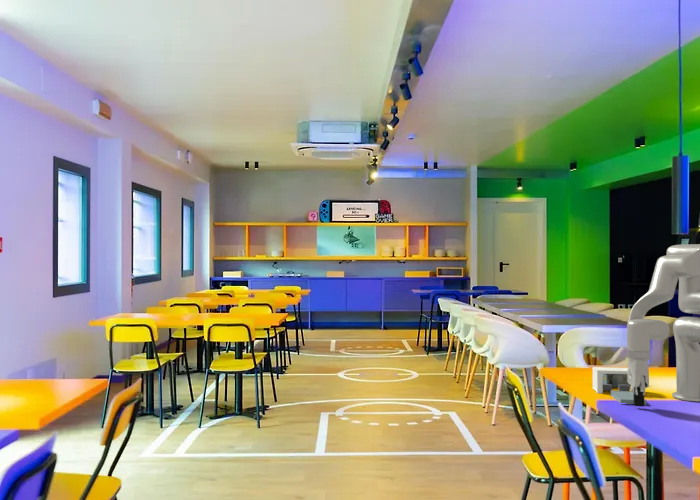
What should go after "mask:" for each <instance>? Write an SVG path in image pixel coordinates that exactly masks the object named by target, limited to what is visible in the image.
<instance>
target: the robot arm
mask: <svg viewBox="0 0 700 500" xmlns="http://www.w3.org/2000/svg"><path fill="white" fill-rule="evenodd" d="M677 284H678V309H679V310H680V311H681V312H683V313H687V314H692V315H693V314H695V315H700V243H699V244H698V243H697V244H695V243H694V244H693V243H691V244H687V243H685V244H675V245H671V246H669V247H668V248H667V249H666V255H663V256H660V257H659V258H657V260H656V263H655V266H654V271H653V273H652V277H651V281H650V284H649V287H648V288H649V289H648V291H647V292H646V293H645V294H644V295H642V296H641V297H640V298H639V299H638V300H637V301H636V302H635V303H634V305H633V306H632V308H631V310H630V312H629V316H628V320H627V324H626V357H627V368H628V372H627V382H628V383H629V384H630V385H631V386H633V393H634V405H633V406H635V407H645V405H644V399H645V393H646V389H648V388H649V386H650V372H649V361H650V360H651V341H658V342H659V341H664V340H665V339H667V338H668V336H669V335H670V331H671V330H670V327H669V325H668V324H667V322H665V321H663V320H660V319H651V318H645V315H646V314H647V313H648V312H649V310H651V309H652V308H654V307H656V306H658V305H661V304H663V303H664V304H665V303H666V302H669V301H670V300H673V298H674V295H675V293H676V288H677ZM672 333H673V336H674V341H675V356H676V357H675V361H676V363H675V364H676V367H675V368H676V369H675V370H676V392H673V393H672V394H671V396H672V397H673V398H674V399H675V400H676V399H678V400H681V401H686V402H688V401H689V402H700V317H697V316H680V317H678V318H676V319H675V320H674V322H673V324H672ZM631 386H630V387H631Z"/></svg>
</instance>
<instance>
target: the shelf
mask: <svg viewBox="0 0 700 500" xmlns="http://www.w3.org/2000/svg"><path fill="white" fill-rule="evenodd" d="M627 372H628V367H608V366H607V367H605V366H604V367H603V366H602V367H601V366H592V390H593V389H594V390H595V391H596V392H595V391H594V390H593V391H594V392H595V393H597V394H603V393H604V392H603V391H608V392H611V390H612V391H613V388H612V385H611V384H603V374H627ZM617 388H618V389H617V391H633V386H630V385H619V384H618V387H617Z"/></svg>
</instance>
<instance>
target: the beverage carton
mask: <svg viewBox="0 0 700 500" xmlns="http://www.w3.org/2000/svg"><path fill="white" fill-rule="evenodd" d="M603 384H611V385H612V389H615V387H617V388H618V384H619V385H630V384H629V383H628V382H627V374H603Z"/></svg>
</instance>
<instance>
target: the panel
mask: <svg viewBox="0 0 700 500" xmlns="http://www.w3.org/2000/svg"><path fill="white" fill-rule="evenodd" d="M610 396H611V397H612V398H613V399H614V400H615V399H616V400H617V401H618V402H620V403H626V404H634V393H633V391H631V390H630V391H619V390H613V389H612V390H611V391H610ZM616 400H615V401H616ZM617 401H616V402H617ZM618 402H617V403H618ZM620 403H619V404H620ZM645 405H647V400H646V398H644V406H645ZM647 406H648V405H647Z"/></svg>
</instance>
